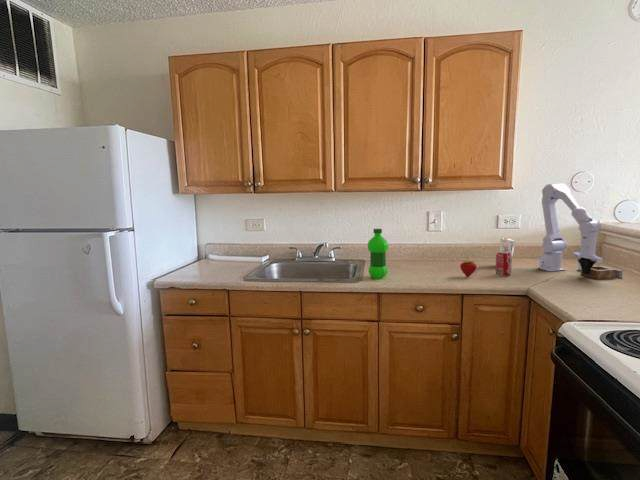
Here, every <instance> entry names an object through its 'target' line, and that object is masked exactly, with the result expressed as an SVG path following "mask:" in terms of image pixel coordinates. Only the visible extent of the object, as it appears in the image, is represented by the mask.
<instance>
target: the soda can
mask: <svg viewBox="0 0 640 480" xmlns="http://www.w3.org/2000/svg"><path fill="white" fill-rule="evenodd" d="M512 267H513V256H512V255H511V252H509V251H500V250H498V251H497V253H496V255H495V274H496V275H497V276H498V277H503V278H507V277H509V276H511V274H512Z"/></svg>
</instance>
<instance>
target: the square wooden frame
mask: <svg viewBox="0 0 640 480" xmlns="http://www.w3.org/2000/svg"><path fill="white" fill-rule="evenodd" d="M602 266H603V265H593V266H592V268H591V270H590V272H589V274H587V275H585V274H583V273H582V269H581V270H580V275H581V276H584V277H588V278H591V279H595V280H604V279H605V280H606V279H615V278H616V277H615V270H614V269H615V268H614V269H610V268H611V267H610V268H606V267H607V266H606V267H602Z"/></svg>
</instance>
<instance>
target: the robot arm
mask: <svg viewBox="0 0 640 480" xmlns="http://www.w3.org/2000/svg"><path fill="white" fill-rule="evenodd" d="M570 192H571V190H570V188H569V187H568V185H566V184H565V183H555V184H553V183H552V184H551V183H548V184H546V185H545V186H544V187H543V188H542V190H541V193H542V198H541V205H542V212H543V219H544V227H545V234H546V235H545V236H544V237H542V245H541V246H542V249H543V251H544V252H542V253H541V254H540V255H539V261H538V266H537V269H541V270H543V271H547V272H557V271H566V268H562V259H563V253H564V251H565V250H566V248H567V242H566V240H565V239H564V235H562V234H561V233H560V231H559V224H558V218H557V216H558V215H557V209H556V202H557V201H558V200H561V201H562V202H563V203H564V204H565V205H566V206H567V207H568V208H569V210H571V212H570V213H571V216H572V217H573V219H574V220H575V222H576V223H577V224H578V225H579V226H578V230H579V231H580V237H581V238H580V247H579V248H580V250H579V252H576V251H575V252H572V257H574V258H575V257H577V258H578V259H577V262H578V264H579V263H580V266H581V269H582V273H583V274H585V275H587V274H589V272H590V270H591V268H592V266H595V264H596V263H599V264H600V263H603V261H604V258H602V257H600V256H597V255H596V248H597V237H598V232H599V231H600V230H601V224H600V222H599V220H595V219H594V218H593V217H592V216H591V215H590V214H589V212H588V210H587V209H586V208H585V207H580V206H579V204H578V202H577V201H576V200H575V198H574V197H573V195H572V193H570ZM579 258H581V259H579Z"/></svg>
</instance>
